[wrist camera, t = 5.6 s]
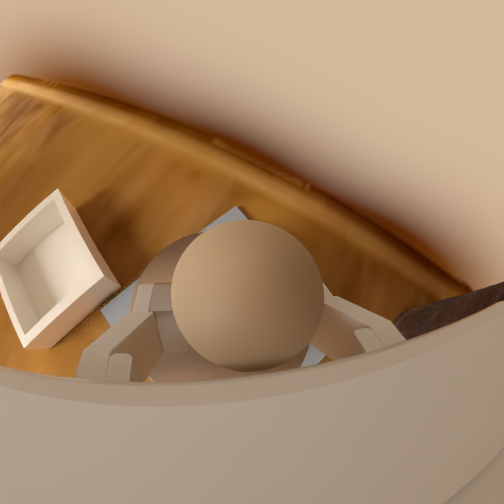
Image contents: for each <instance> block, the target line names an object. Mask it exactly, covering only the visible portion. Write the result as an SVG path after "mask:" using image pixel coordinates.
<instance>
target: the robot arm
mask: <svg viewBox="0 0 504 504" xmlns="http://www.w3.org/2000/svg"><path fill="white" fill-rule="evenodd" d="M171 285H172V282H171V283H142V284H140V285H139V288H138V292H137V296H136V300H135V304H134V309H133V312H131V313H128V314H126V315H125V316H124V317H123V318H121V319H120V320H119V321H118V322H117V323H115V324H114V325H113V326H112V327H111V328H109V329H108V330H107V331H106V332H105V333H103V334H102V335H101V336H100V337H99V338H98V339H96V340H95V341H94V342H93V343H92V344H90V345H89V346H88V347H87V348H86V349H85V350H83V352H82V355H81V358H80V361H79V365H78V368H77V372H76V375H75V378H68V377H60V376H52V375H45V374H39V373H33V372H27V371H22V370H17V369H12V368H7V367H3V366H0V504H504V301H500V302H497V303H495V304H493V305H491V306H489V307H487V308H485V309H483V310H481V311H479V312H477V313H475V314H472V315H470V316H468V317H466V318H463V319H461V320H459V321H456V322H454V323H451V324H449V325H446V326H444V327H441V328H439V329H436V330H434V331H431V332H428V333H425V334H423V335H420V336H417V337H414V338H411V339H408V340H406V339H405V338H404V337H403V336H402V334H401V333H400V332H399V331H398V329H397V328H396V327H395V326H394V325H393V323H392V322H391V321H390V320H387V319H385V318H383V317H381V316H379V315H377V314H375V313H372V312H370V311H368V310H366V309H364V308H362V307H360V306H357V305H355V304H353V303H351V302H349V301H347V300H345V299H343V298H340V297H338V296H333V295H332V294H331V292H330V291H329V290H328V288H327V287H326V286H325V284H324V283H323V287H324V308H323V313H322V318H321V321H320V324H319V327H318V329H317V331H316V333H315V335H314V336H313V338H312V339H311V341H310V342H309V343H310V344H312V345H313V346H314V347H316V348H317V349H318V350H320V351H321V352H322V353H324V354H325V355H326V356H328V357H329V358H330V359H332V360H333V361H329V362H325V363H320V364H315V365H310V366H305V367H300V368H294V369H289V370H283V371H277V372H270V373H263V374H256V375H249V376H240V377H231V378H221V379H209V380H194V381H172V382H144V381H145V380H146V379H147V377H148V376H149V375H150V373H151V372H152V370H153V369H154V368H155V366H156V365H157V363H158V362H159V361H160V359H161V358H162V356H163V355H164V353H175V352H188V342H187V340H186V339H185V337H184V336H183V334H182V333H181V331H180V329H179V327H178V325H177V322H176V320H175V317H174V313H173V309H172V302H171Z"/></svg>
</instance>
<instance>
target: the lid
mask: <svg viewBox="0 0 504 504" xmlns="http://www.w3.org/2000/svg"><path fill="white" fill-rule="evenodd" d="M171 282H172V285H171V302H172V309H173V313H174V317H175V320H176V322H177V325H178V327H179V329H180V331H181V333H182V334H183V336H184V337H185V339H186V340H187V342H188V352H175V353H164V355H163V356H162V358H161V359H160V361H159V362H158V363H157V365H156V366H155V368H154V369H153V370H152V372H151V373H150V375H149V376H150V378H151V379H152V380H153V381H154V382H172V381H194V380H209V379H221V378H231V377H240V376H249V375H256V374H263V373H270V372H277V371H283V370H289V369H294V368H300V367H301V365H302V363H303V361H304V359H305V357H306V354H307V351H308V348H309V345H310V343H309V342H310V341H311V339H312V338H313V336H314V335H315V333H316V331H317V329H318V327H319V324H320V321H321V318H322V313H323V308H324V287H323V282H322V278H321V275H320V271H319V269H318V267H317V264H316V262H315V260H314V259H313V257H312V256H311V254H310V253H309V251H308V250H307V249H306V247H305V246H304V245H303V244H302V243H301V242H300V241H299V240H298V239H297V238H295V237H294V236H293V235H291V234H290V233H288V232H287V231H285V230H283V229H282V228H280V227H277V226H275V225H273V224H269V223H266V222H262V221H257V220H234V221H229V222H225V223H222V224H219V225H216V226H214V227H212V228H210V229H208V230H207V231H205V232H201V233H196V234H193V235H190V236H187V237H184V238H182V239H180V240H178V241H176V242H174V243H172V244H171V245H169V246H168V247H166V248H165V249H163V250H162V251H161V252H160V253H159V254H158V255H156V256H155V257H154V259H153V260H152V261H151V262H150V263H149V264H148V265H147V267H146V268H145V270H144V271H143V273H142V274H141V276H140V278H139V280H138V282H137V284H136V287H135V290H134V293H133V296H132V300H131V305H130V313H131V312H133V309H134V304H135V300H136V296H137V292H138V288H139V285H140V284H142V283H171Z"/></svg>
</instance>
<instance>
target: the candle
mask: <svg viewBox="0 0 504 504" xmlns="http://www.w3.org/2000/svg"><path fill="white" fill-rule="evenodd" d="M500 301H504V282H502V283H498V284H496V285H492V286H489V287H486V288H483V289H479V290H476V291H473V292H470V293H466V294H462V295H459V296H455V297H452V298H448V299H445V300H441V301H437V302H434V303H430V304H426V305H422V306H419V307H415V308H412V309H410V310H408V311H406V312H404V313H402V314H401V315H400V316H399V317H398V318H397V320H396V321H395V323H394V326H395V327H396V328H397V329H398V331H399V332H400V333H401V334H402V336H403V337H404V338H405V339H406V340H408V339H411V338H414V337H417V336H420V335H423V334H425V333H428V332H431V331H434V330H436V329H439V328H441V327H444V326H446V325H449V324H451V323H454V322H456V321H459V320H461V319H463V318H466V317H468V316H470V315H472V314H475V313H477V312H479V311H481V310H483V309H485V308H487V307H489V306H491V305H493V304H495V303H497V302H500Z"/></svg>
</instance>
